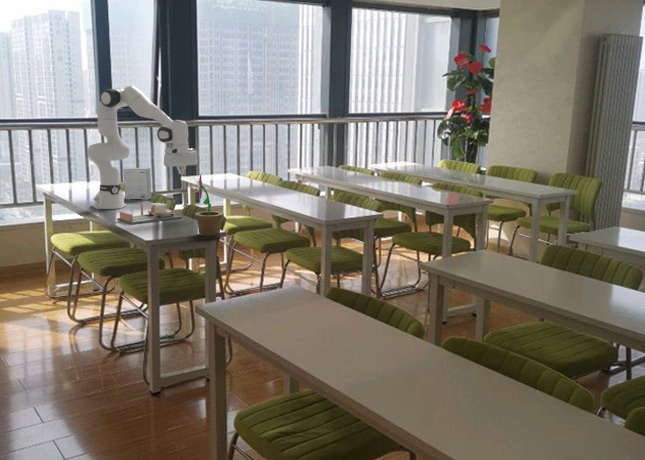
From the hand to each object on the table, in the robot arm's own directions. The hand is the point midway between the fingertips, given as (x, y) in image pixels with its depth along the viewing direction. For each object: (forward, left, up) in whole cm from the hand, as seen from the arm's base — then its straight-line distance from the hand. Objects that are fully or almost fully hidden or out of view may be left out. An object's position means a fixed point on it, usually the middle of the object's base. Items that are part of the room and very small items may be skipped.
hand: (181, 173), depth 401 cm
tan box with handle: (0, -13, -22) cm, 26 cm away
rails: (0, -21, -24) cm, 32 cm away
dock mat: (0, -21, -24) cm, 32 cm away
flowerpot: (+53, -16, -24) cm, 60 cm away
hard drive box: (-67, +7, -24) cm, 72 cm away
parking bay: (0, -28, -23) cm, 36 cm away
